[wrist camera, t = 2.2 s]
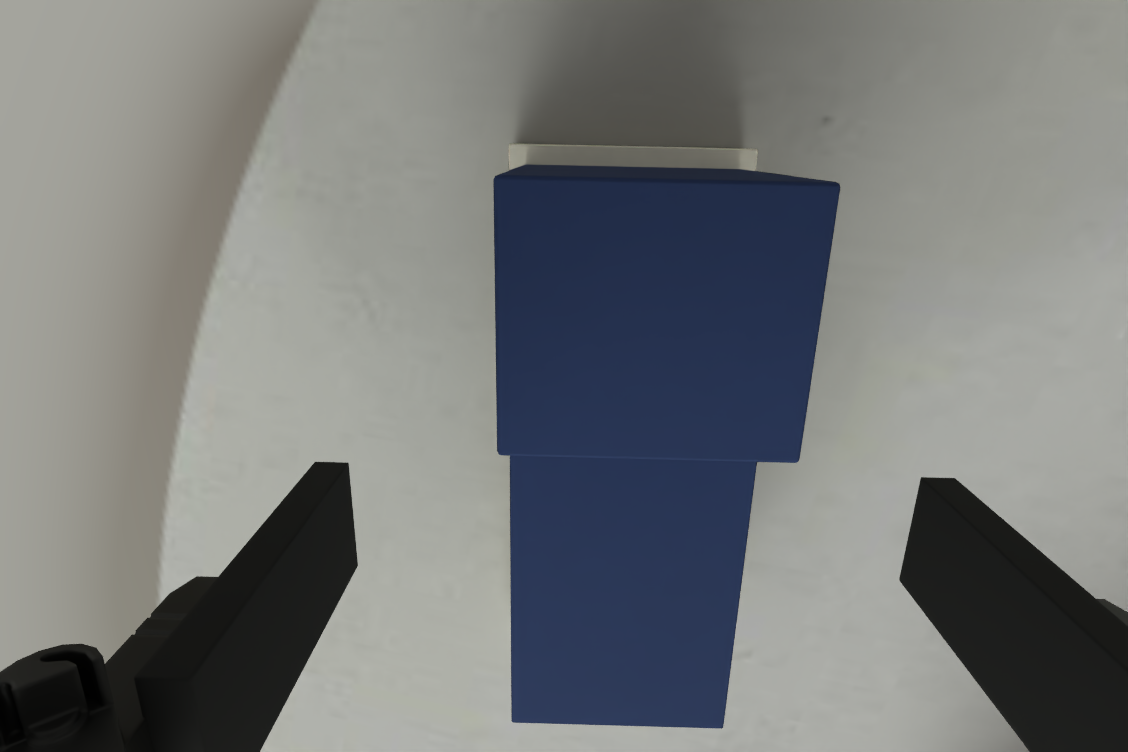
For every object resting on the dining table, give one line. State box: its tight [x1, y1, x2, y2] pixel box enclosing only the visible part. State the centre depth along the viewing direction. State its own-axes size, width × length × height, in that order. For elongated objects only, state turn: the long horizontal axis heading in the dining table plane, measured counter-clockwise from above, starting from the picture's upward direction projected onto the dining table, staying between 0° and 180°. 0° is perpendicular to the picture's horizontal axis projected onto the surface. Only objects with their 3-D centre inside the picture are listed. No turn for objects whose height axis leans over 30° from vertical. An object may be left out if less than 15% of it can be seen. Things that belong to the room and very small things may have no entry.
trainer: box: [494, 144, 840, 728], centre depth 17 cm, size 16×6×8 cm, turn 179°
